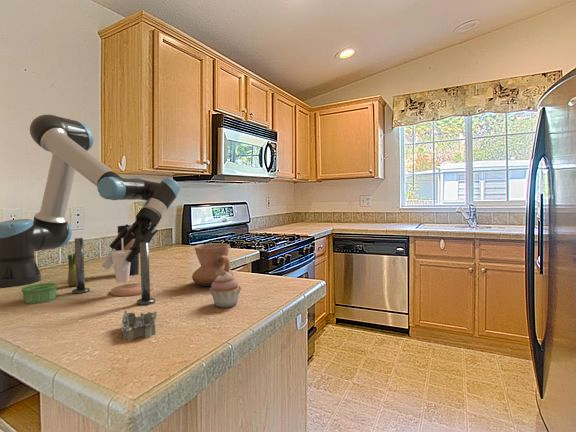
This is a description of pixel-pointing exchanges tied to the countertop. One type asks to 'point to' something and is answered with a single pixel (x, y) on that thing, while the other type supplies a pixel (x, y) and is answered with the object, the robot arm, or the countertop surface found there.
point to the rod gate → (143, 263)
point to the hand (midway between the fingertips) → (112, 268)
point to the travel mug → (135, 262)
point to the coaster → (128, 289)
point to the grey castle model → (138, 325)
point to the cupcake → (225, 290)
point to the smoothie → (116, 259)
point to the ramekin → (39, 293)
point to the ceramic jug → (211, 263)
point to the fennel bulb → (72, 270)
